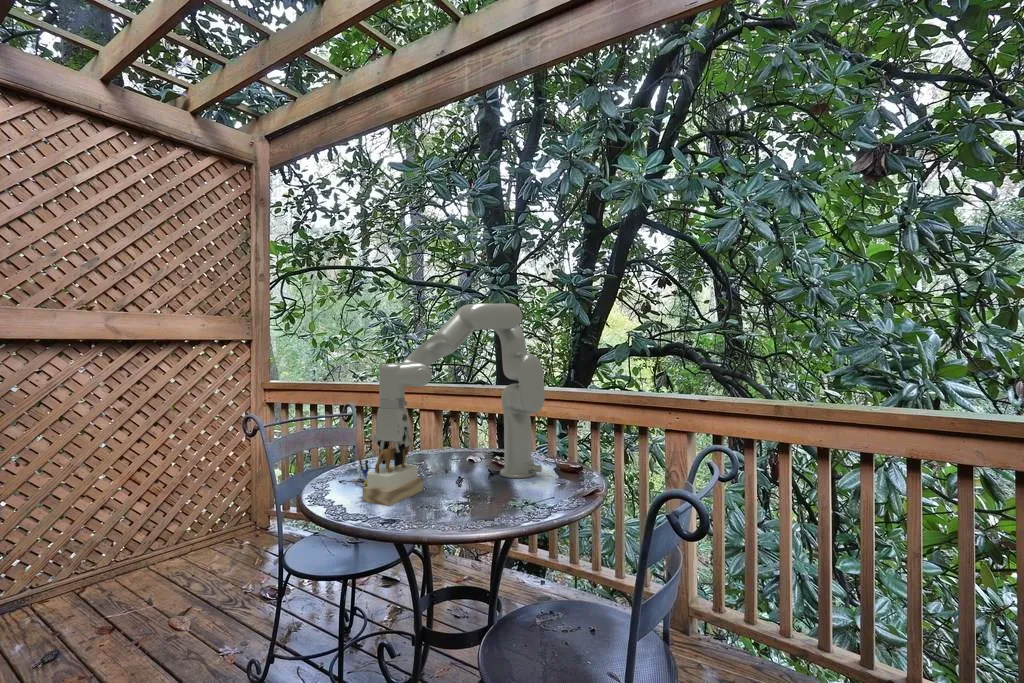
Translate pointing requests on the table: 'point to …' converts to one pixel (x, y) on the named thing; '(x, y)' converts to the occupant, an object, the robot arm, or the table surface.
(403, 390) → the robot arm
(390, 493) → the oak base brick
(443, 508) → the table surface
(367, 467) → the figurine
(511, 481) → the table surface
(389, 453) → the lion figurine
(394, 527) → the table surface
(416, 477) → the cream brick
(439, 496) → the table surface
